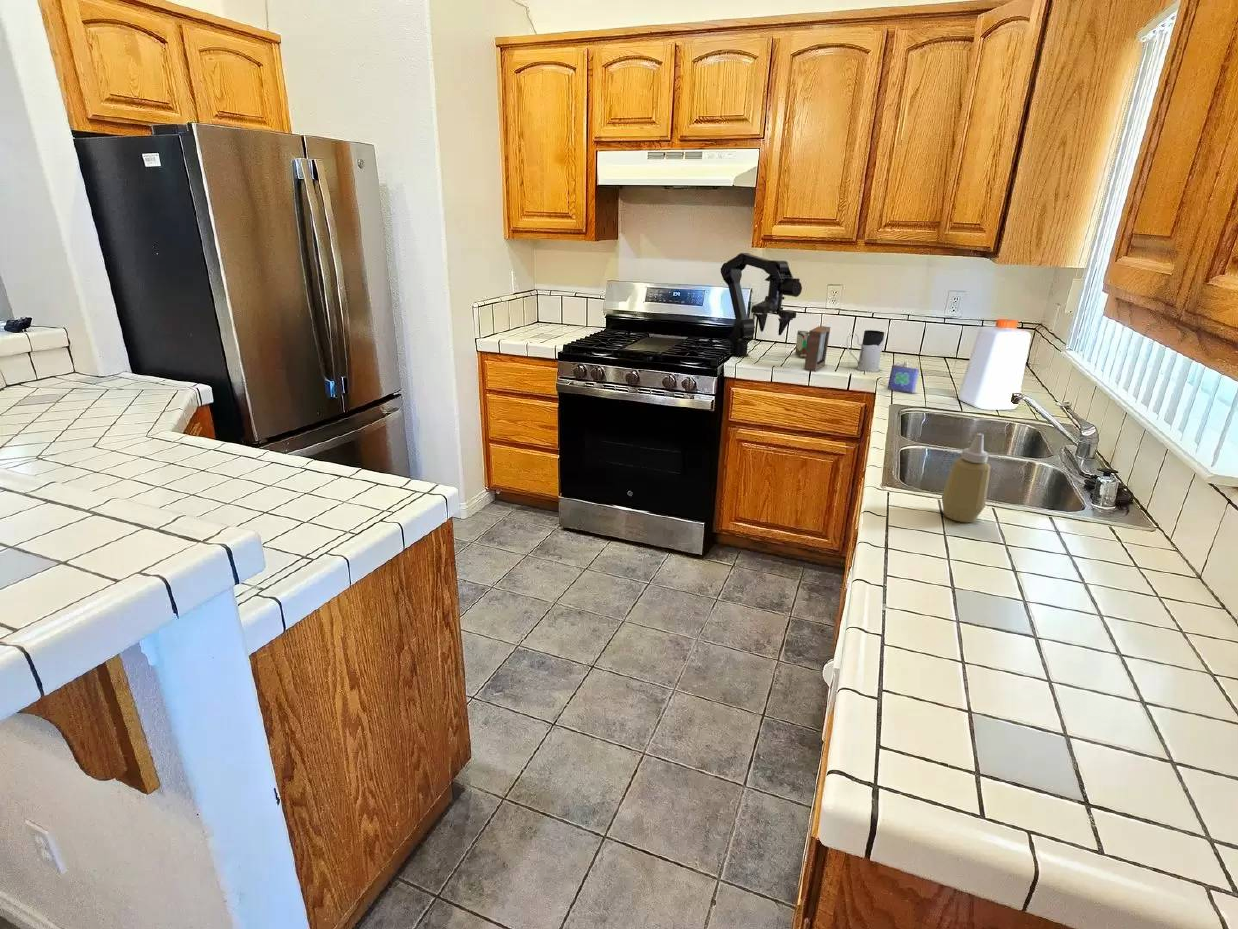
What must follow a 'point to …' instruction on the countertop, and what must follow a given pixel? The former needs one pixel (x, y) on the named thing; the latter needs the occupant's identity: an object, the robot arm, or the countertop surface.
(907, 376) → the flask
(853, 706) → the countertop surface
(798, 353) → the food container
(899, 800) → the countertop surface
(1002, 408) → the plastic bottle
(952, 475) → the squeeze bottle
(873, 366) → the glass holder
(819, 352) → the window frame
